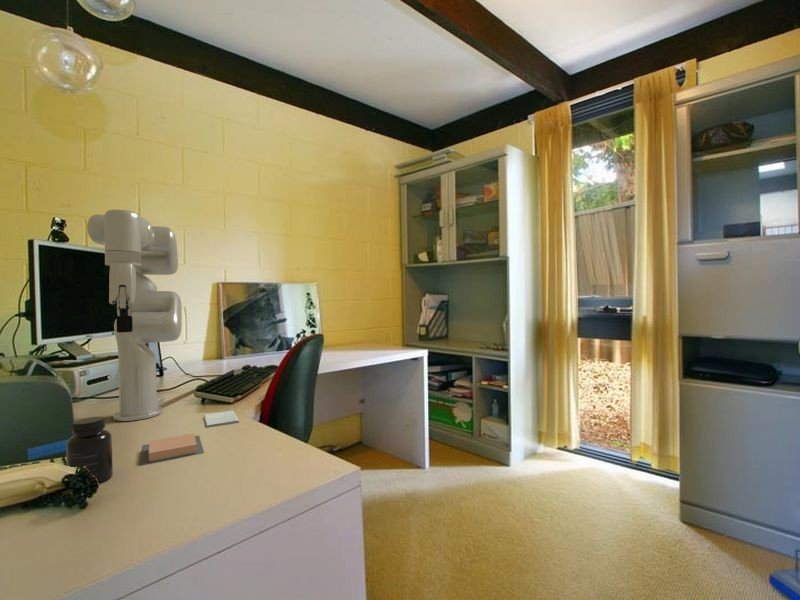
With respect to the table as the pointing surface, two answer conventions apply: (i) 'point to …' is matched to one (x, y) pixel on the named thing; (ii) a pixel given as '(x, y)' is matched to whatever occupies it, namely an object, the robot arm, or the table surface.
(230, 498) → the table surface
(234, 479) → the table surface
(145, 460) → the mat
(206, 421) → the hard drive
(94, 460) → the supplement bottle
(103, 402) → the table surface
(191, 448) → the tile
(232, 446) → the table surface
